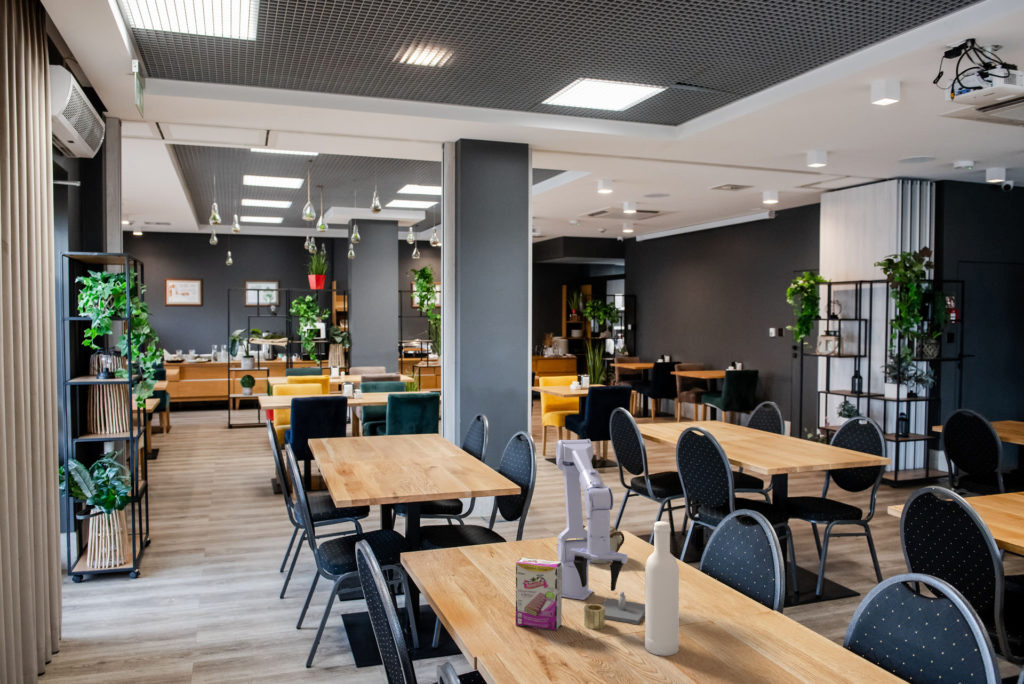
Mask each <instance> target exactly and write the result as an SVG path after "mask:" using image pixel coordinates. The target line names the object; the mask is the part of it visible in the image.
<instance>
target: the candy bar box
mask: <svg viewBox="0 0 1024 684" xmlns="http://www.w3.org/2000/svg"><path fill="white" fill-rule="evenodd" d="M562 598H563V597H562V562H558V560H557V561H555V560H549V559H548V560H547V559H538V558H530V557H521V558H519V559H518V560H517V561H516V562H515V625H516V626H522V627H527V628H536V629H543V630H547V631H549V630H550V631H553V632H554V631H555V632H557V630H558V629H559V628H560V626H561V625H562V622H563V621H562V614H563V613H562V610H563V609H562V600H563V599H562Z"/></svg>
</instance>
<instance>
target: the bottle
mask: <svg viewBox="0 0 1024 684" xmlns="http://www.w3.org/2000/svg"><path fill="white" fill-rule="evenodd" d="M653 525H654V526H653V531H654V532H653V536H654V537H653V542H654V543H653V548H654V549H653V550H654V551H653V552H652V553H651V554H650V555H649V556H648V557H647V559H646V563H645V567H644V568H645V569H644V570H645V571H644V573H645V574H644V577H645V579H644V583H645V584H644V586H645V587H644V589H645V591H644V594H645V595H644V596H645V597H644V598H645V599H644V600H645V601H644V602H645V603H644V604H645V616H644V622H645V623H644V626H645V627H644V648H645V650H646V651H647V652H648V653H650V654H653V655H655V656H663V657H667V656H673V655H676V654H677V653H678V652H679V650H680V649H679V648H680V647H679V645H680V637H679V635H680V631H679V629H680V627H679V626H680V625H679V622H680V618H679V617H680V614H679V613H680V612H679V611H680V602H679V601H680V599H679V598H680V597H679V595H680V574H679V573H680V568H679V564H678V561H677V559H676V557H675V556H674V555H673V554H672V553H671V546H670V545H671V530H672V529H671V524H670V523H669V522H668V521H662V520H661V521H660V520H659V521H658V520H657V521H655V522H654V524H653Z"/></svg>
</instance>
